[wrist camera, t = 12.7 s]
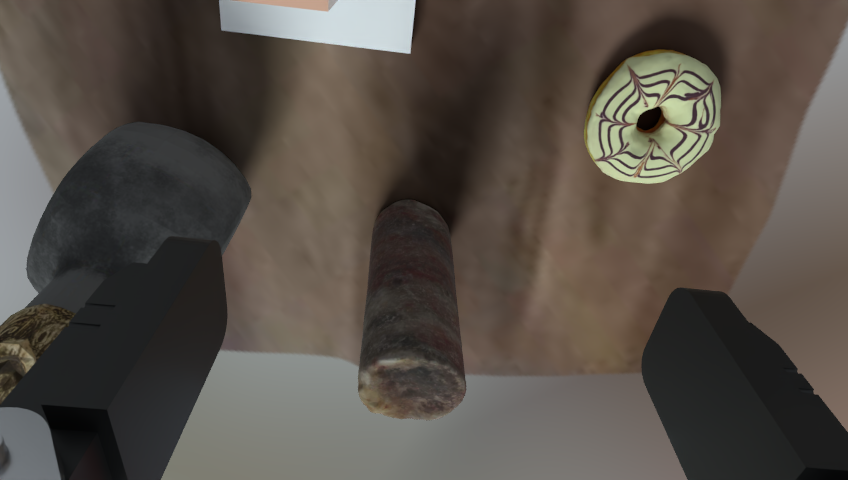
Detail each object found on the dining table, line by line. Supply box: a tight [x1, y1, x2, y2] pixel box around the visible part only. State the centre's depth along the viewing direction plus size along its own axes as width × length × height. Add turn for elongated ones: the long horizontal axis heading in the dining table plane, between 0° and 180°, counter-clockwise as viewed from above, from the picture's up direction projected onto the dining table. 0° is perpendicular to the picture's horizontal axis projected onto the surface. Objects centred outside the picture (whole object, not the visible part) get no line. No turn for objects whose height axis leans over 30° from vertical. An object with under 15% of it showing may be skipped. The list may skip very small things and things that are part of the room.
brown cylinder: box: [358, 199, 466, 420], centre depth 43 cm, size 8×7×20 cm
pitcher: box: [0, 122, 251, 404], centre depth 36 cm, size 11×19×30 cm, turn 145°
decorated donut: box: [584, 49, 721, 183], centre depth 44 cm, size 10×11×4 cm
